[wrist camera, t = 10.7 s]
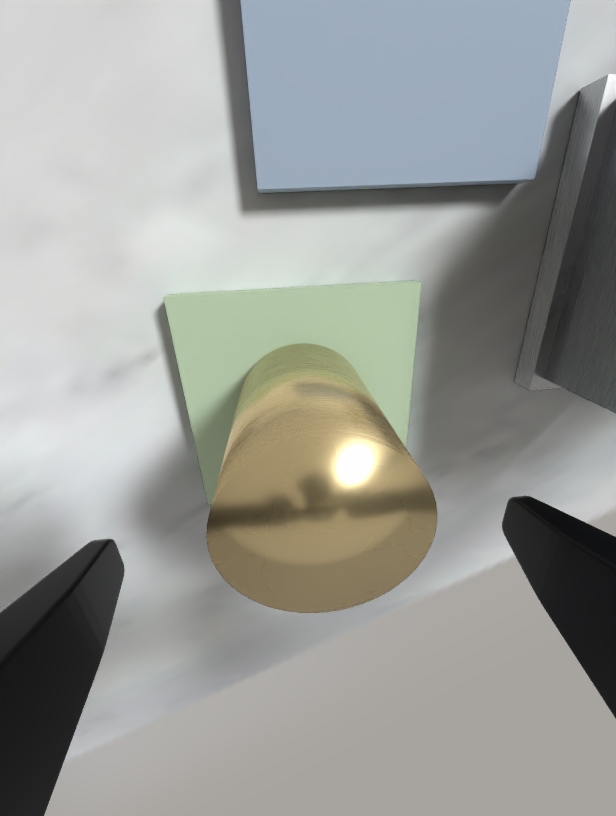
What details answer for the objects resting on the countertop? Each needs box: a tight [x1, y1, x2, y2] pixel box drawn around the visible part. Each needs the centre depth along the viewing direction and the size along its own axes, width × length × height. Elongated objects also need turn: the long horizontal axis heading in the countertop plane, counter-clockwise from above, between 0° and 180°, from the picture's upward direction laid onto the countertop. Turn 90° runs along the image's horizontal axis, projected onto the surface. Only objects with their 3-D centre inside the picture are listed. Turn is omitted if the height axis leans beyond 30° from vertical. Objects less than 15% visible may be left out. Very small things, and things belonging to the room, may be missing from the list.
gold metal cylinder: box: [207, 343, 437, 613], centre depth 11 cm, size 5×5×7 cm
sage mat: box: [163, 281, 421, 505], centre depth 14 cm, size 9×9×1 cm
